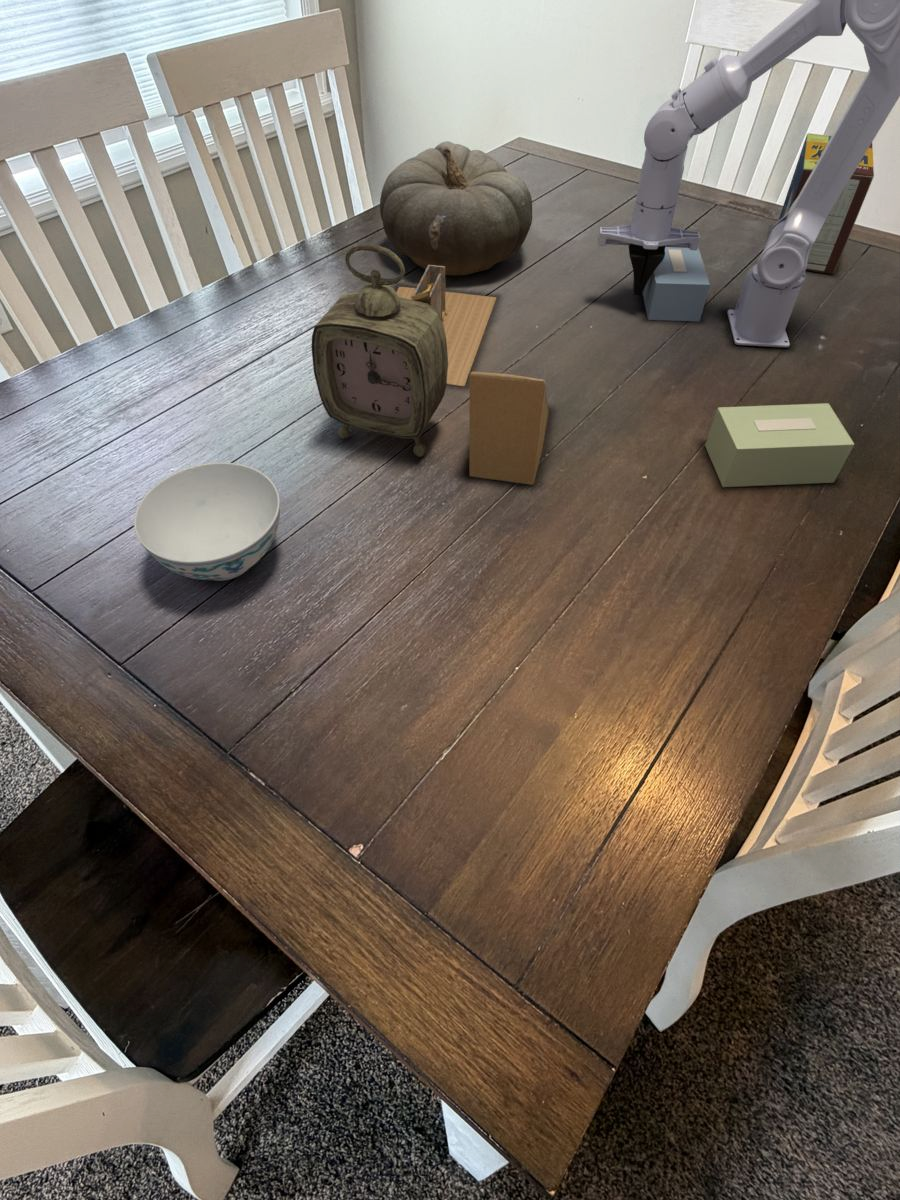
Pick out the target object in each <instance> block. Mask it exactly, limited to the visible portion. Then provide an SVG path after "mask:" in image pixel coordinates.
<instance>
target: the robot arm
mask: <svg viewBox="0 0 900 1200" xmlns="http://www.w3.org/2000/svg"><path fill="white" fill-rule="evenodd" d="M846 26H848V28H849V29H850V30H851V32H852V33H853V35H854V36H855V37H856V38H857V39H858V40H859V41H860V42H861V44H862V45H863V50H864V53H865V57H866V60H867V64H868V67H869V68H868V70H867V72H866V74H865V76H864V77H863V79H862V82H861V83H860V85H859V86H858V89H857V90H856V92H855V93H854V95H853V98H851V101H850V103H849V104H848V106H847V108H846V110H845V112H844V114H843V115H842V117H841V118H840V121H839V122H838V124H837V126H836V128H835V129H834V131H833V133H832V134H831V136H832V137H831V138H830V140H829V142H828V144H827V146H826V147H825V149H824V151H823V153H822V155H821V156H820V158H819V160H818V162H817V163H816V165H815V167H814V169H813V171H812V172H811V174H810V176H809V178H808V180H807V181H806V183H805V185H804V187H803V189H802V190H801V192H800V194H799V196H798V197H797V199H796V200H795V201H794V203H793V204H792V206H791V208H790V209H789V211H788V213H787V214H786V215H785V216H784V217H783V218H782V219H780V220H779V219H778V220H779V221H778V220H777V221H776V222H775V223H774V224H773V225H772V226H771V228H770V230H769V231H768V234H767V238H766V242H765V245H764V247H763V250H762V252H761V254H760V255H759V257H758V260H757V262H756V263H755V264H754V265H752V266H751V267H750V268H749V269H748V271H746V274H745V276H744V279H743V282H742V285H741V288H740V291H739V294H738V298H737V301H736V304H735V307H734V309H728V310H727V313H726V314H727V318H728V322H729V326H730V330H731V335H732V339H733V343H734V344H735V345H737V346H749V347H750V346H751V347H767V348H783V349H784V348H785V349H787V348H789V347H790V345H791V343H790V340H789V337H788V334H787V331H786V329H787V327H788V324H789V321H790V318H791V316H792V313H793V311H794V308H795V305H796V304H797V303H796V302H797V301H798V297H799V295H800V292H801V289H802V287H803V285H804V282H805V280H806V275H807V274H806V271H807V270H806V267H807V261H808V257H809V254H810V250H811V247H812V246H813V244H814V242H815V240H816V238H817V236H818V234H819V232H820V230H821V228H822V226H823V224H824V221H825V219H826V218H827V216H828V214H829V213H830V211H831V209H832V208H833V206H834V204H835V203H836V201H837V199H838V198H839V196H840V194H841V193H842V191H843V189H844V188H845V186H846V184H847V183H848V181H849V180H850V178H851V176H852V175H853V173H854V171H855V170H856V168H857V166H858V165H859V163H860V161H861V160H862V158H863V156H864V155H865V153H866V151H867V150H868V148H869V146H870V145H871V143H872V144H873V141H874V140H875V138H876V137H877V135H878V133H879V131H880V130H881V128H882V126H883V125H884V123H885V122H886V120H887V118H888V117H889V115H890V113H891V112H892V110H893V108H894V107H895V106H896V103H897V102H898V100H899V99H900V0H806V1H805V2H803V3H802V4H801V5H800V6H799V7H798V8H796V9H795V10H794V11H793V12H792V13H791V14H790V15H788V16H787V17H786V18H785V19H784V20H783V21H781V22H779V24H778V25H777V26H775V27H774V28H773V29H772V30H771V31H770V32H768V33H767V34H765V36H764V37H762V38H761V39H760V40H759V41H758V42H757V43H756V44H754V45H753V46H752V47H750V48H749V49H748V50H747V51H746V52H745V53H744V54H742V55H734V54H733V55H731V54H725V55H724V56H722V57H721V58H720V59H719V60H718V59H717V57H715V56H714V57H713V58H712V59H710V60H709V61H708V62H707V63H706V64H705V65H704V67H703V69H704V72H702V73H701V74H699V76H698V77H696V78H695V79H694V80H693V81H691V83H689V84H688V85H687V86H686V87H684V88H682V89H681V88H679V87H678V88H677V89H675V91H673V92H672V94H671V95H670V96H671V97H670V98H671V99H668V100H667V101H665V102H663V103H662V104H661V106H660V107H659V108H658V109H657V111H656V112H655V113H654V114H653V115H652V117H651V118H650V120H649V121H648V122H647V124H646V127H645V130H644V134H643V141H644V146H645V151H644V158H643V163H642V164H641V170H640V175H639V180H638V187H637V191H636V195H635V202H634V207H633V213H632V217H631V223H630V224H625V225H617V226H600V227H599V231H598V239H597V246H598V247H606V246H607V245H613V246H628V252H629V259H630V264H631V267H632V273H633V288H632V292H633V295H634V296H643V291H644V288H645V286H646V284H647V282H648V280H649V278H650V277H651V275H652V274H653V272H654V271H655V269H656V268H657V267H658V266H659V264H660V263H661V262H662V261H663V259H664V257H665V247H676V248H689V249H690V250H696V251H697V248H699V244H700V241H701V233H700V231H694V230H687V229H682V228H678V227H672V224H673V219H674V216H675V210H676V207H677V201H678V199H679V198H678V197H679V193H680V188H681V185H682V180H683V176H684V175H683V174H684V171H685V162H686V161H685V160H686V156H687V151H688V145H689V142H690V140H691V139H692V138H693V137H694V136H697V135H701V134H703V133H705V131H707V130H708V129H710V128H711V127H712V126H714V125H715V124H717V123H718V122H719V121H720V120H722V119H723V118H724V117H726V116H727V115H729V114H730V113H731V112H733V110H735V109H736V108H737V107H739V106H740V105H742V104H743V103H744V102H745V101H747V100H748V98H749V95H750V92H751V88H752V85H753V82H754V81H756V80H757V79H759V78H760V77H762V76H763V75H765V73H766V72H768V71H770V70H772V68H774V67H775V66H777V65H778V64H780V63H782V62H783V61H784V60H785V59H786V58H788V57H789V56H790V55H792V54H793V53H794V52H796V51H797V50H799V49H800V48H802V47H803V46H804V45H806V44H808V43H809V42H810V41H812V40H813V39H814V38H817V37H840V36H842V35H843V34H844V31H845V30H846V29H845V28H846Z"/></svg>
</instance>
